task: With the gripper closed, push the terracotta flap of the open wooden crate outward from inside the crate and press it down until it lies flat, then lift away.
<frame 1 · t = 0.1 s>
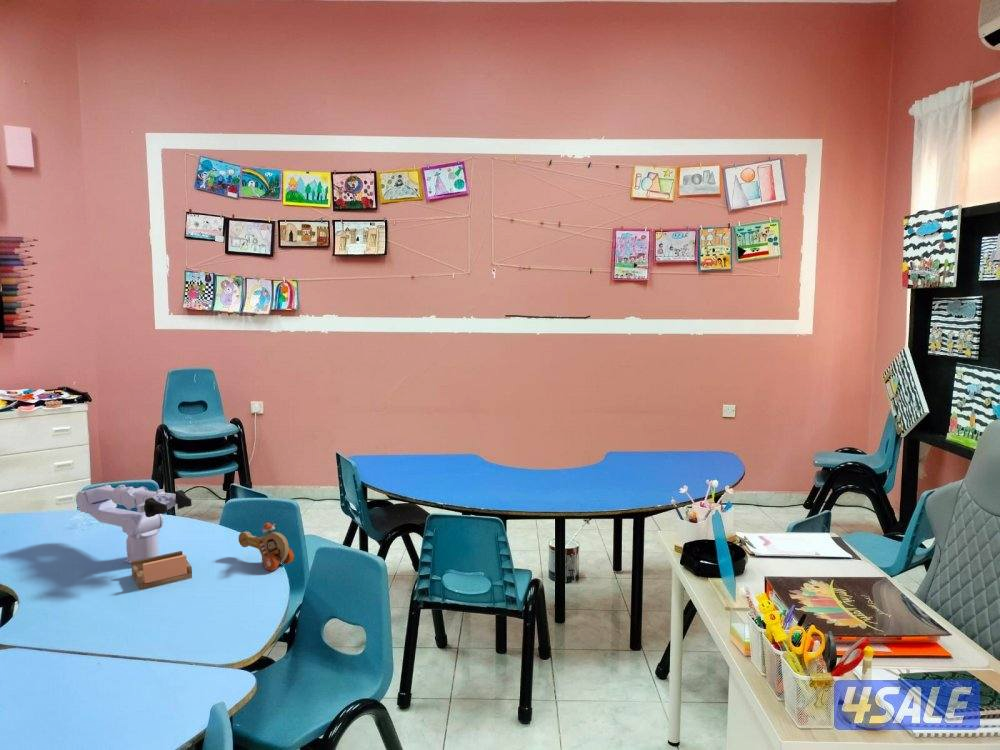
hand: (178, 505, 204), 22 cm above the table, tool horizontal, fingers open, 7 cm apart
tailgate: (165, 568, 201), point 4 cm above the table, hinge at 0.0°
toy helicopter: (265, 563, 217), on the table
open wooden crate: (162, 576, 206), on the table
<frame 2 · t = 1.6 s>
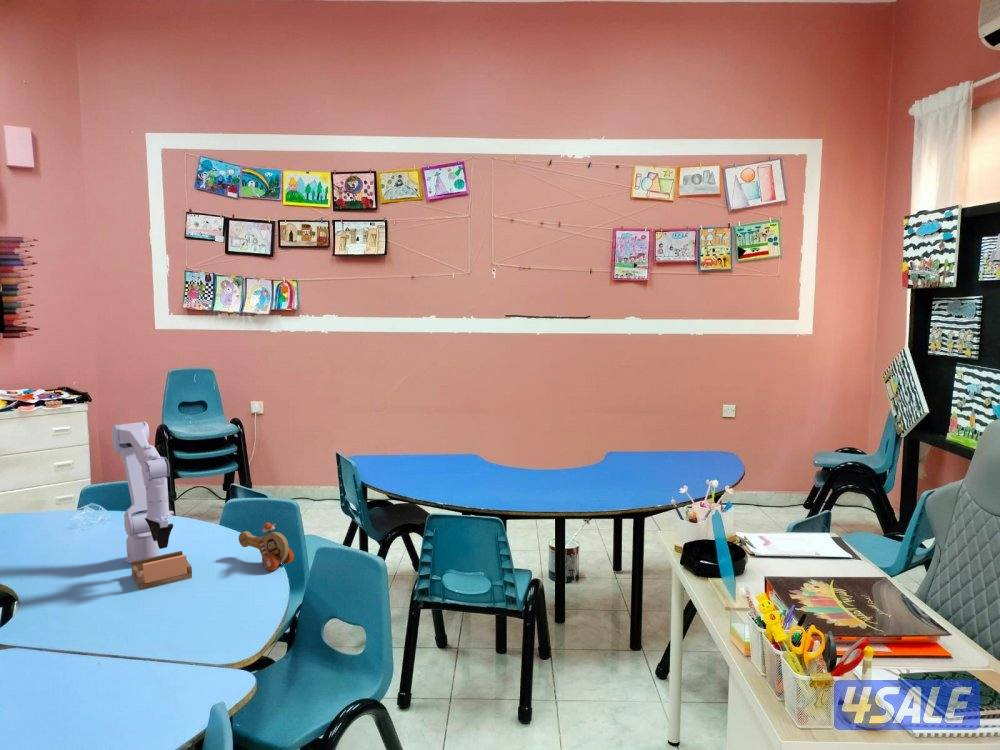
hand: (160, 544, 204), 10 cm above the table, tool pointing down, fingers open, 7 cm apart
nothing on the table moved.
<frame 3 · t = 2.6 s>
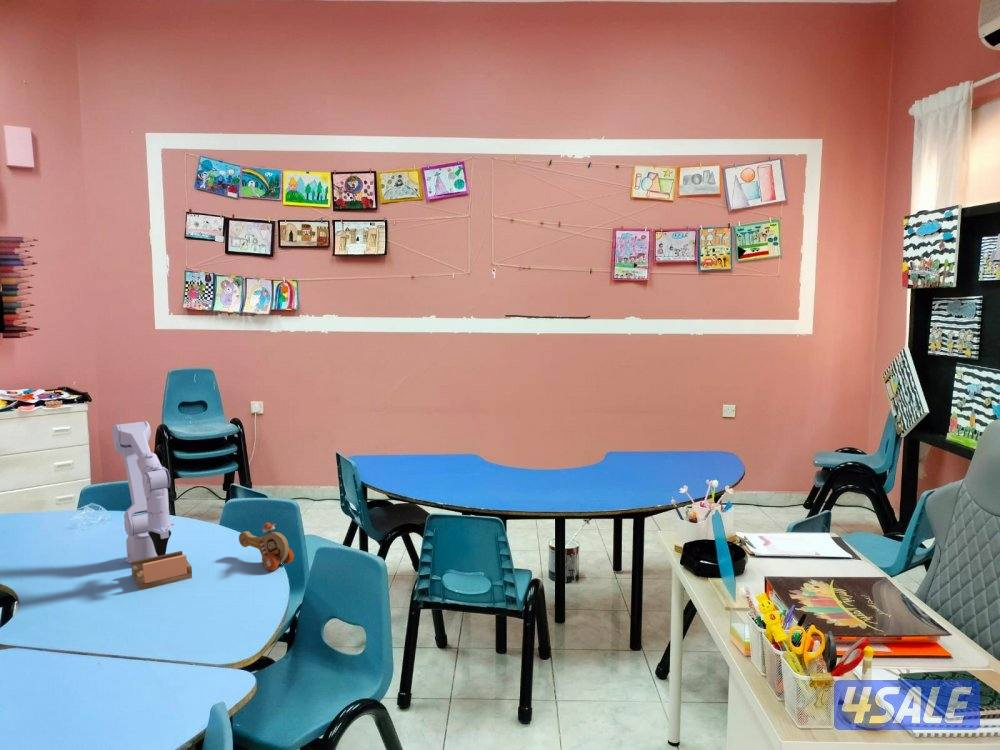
hand: (161, 554, 204), 7 cm above the table, tool pointing down, fingers closed
nothing on the table moved.
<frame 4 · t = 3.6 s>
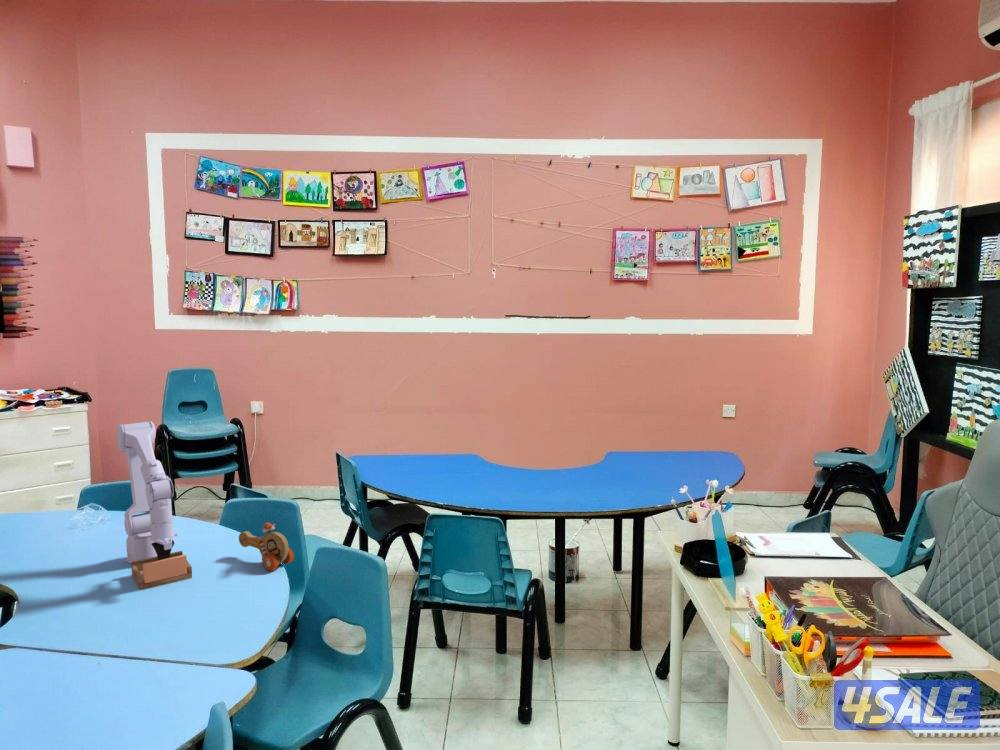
hand: (164, 565, 202), 5 cm above the table, tool pointing down, fingers closed, pressing on tailgate
tailgate: (165, 568, 201), point 4 cm above the table, hinge at 0.4°, touching gripper
everything else where it was.
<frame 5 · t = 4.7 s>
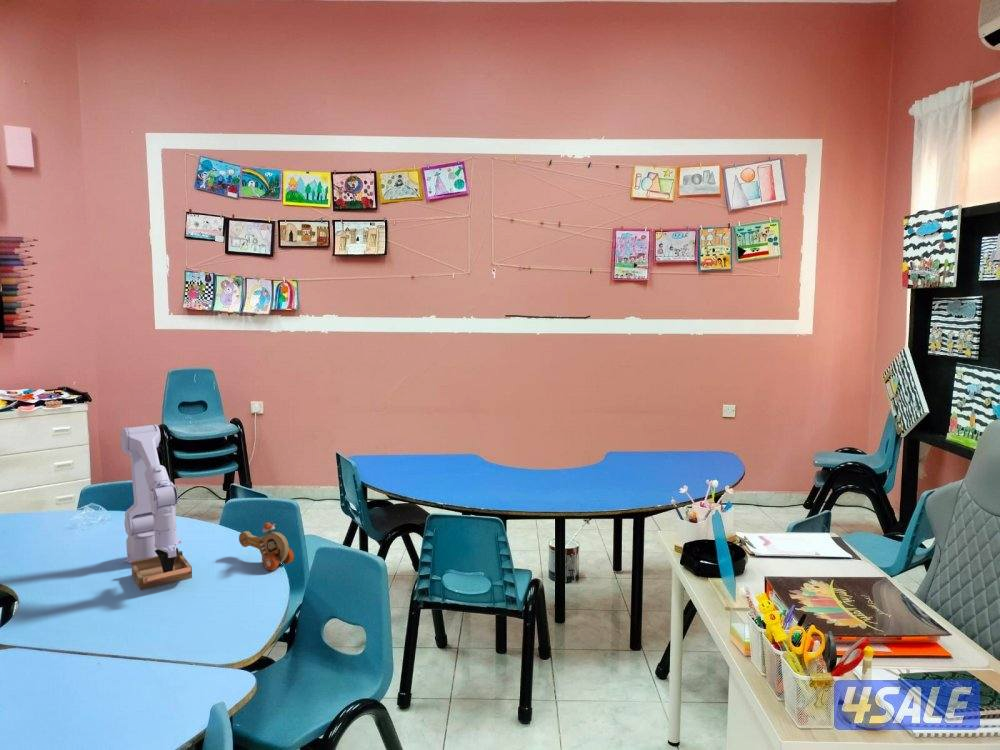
hand: (168, 573, 198), 4 cm above the table, tool pointing down, fingers closed, pressing on tailgate
tailgate: (167, 575, 199), point 3 cm above the table, hinge at 62.7°, touching gripper
everything else where it was.
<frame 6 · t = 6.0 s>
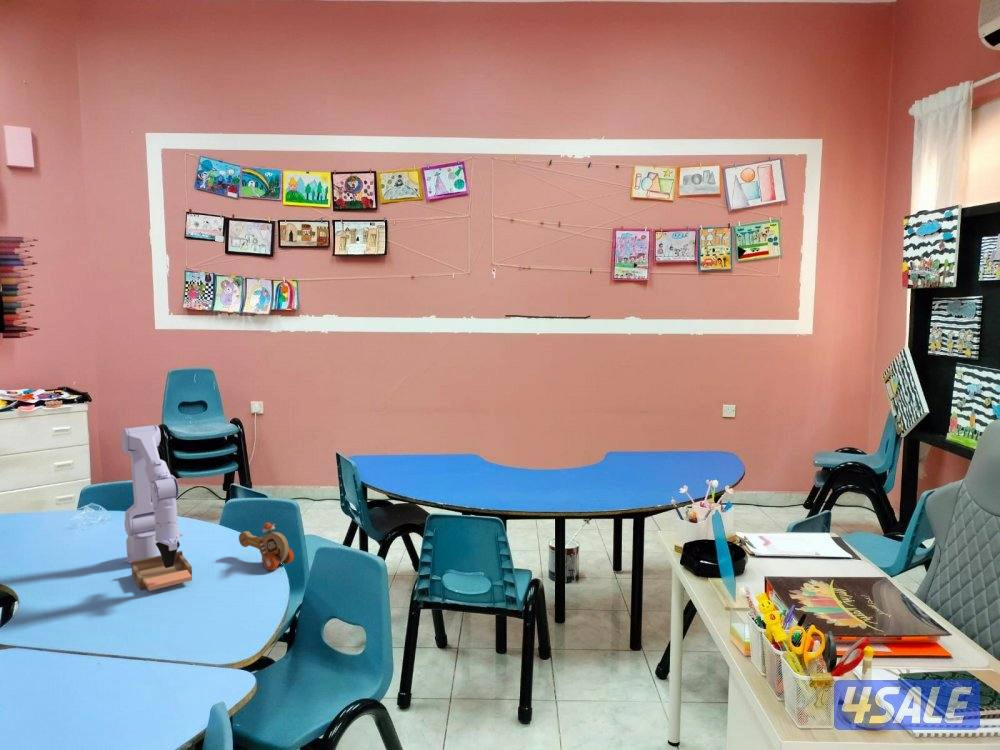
hand: (168, 566, 196), 7 cm above the table, tool pointing down, fingers closed
tailgate: (168, 579, 199), point 2 cm above the table, hinge at 91.2°
everything else where it was.
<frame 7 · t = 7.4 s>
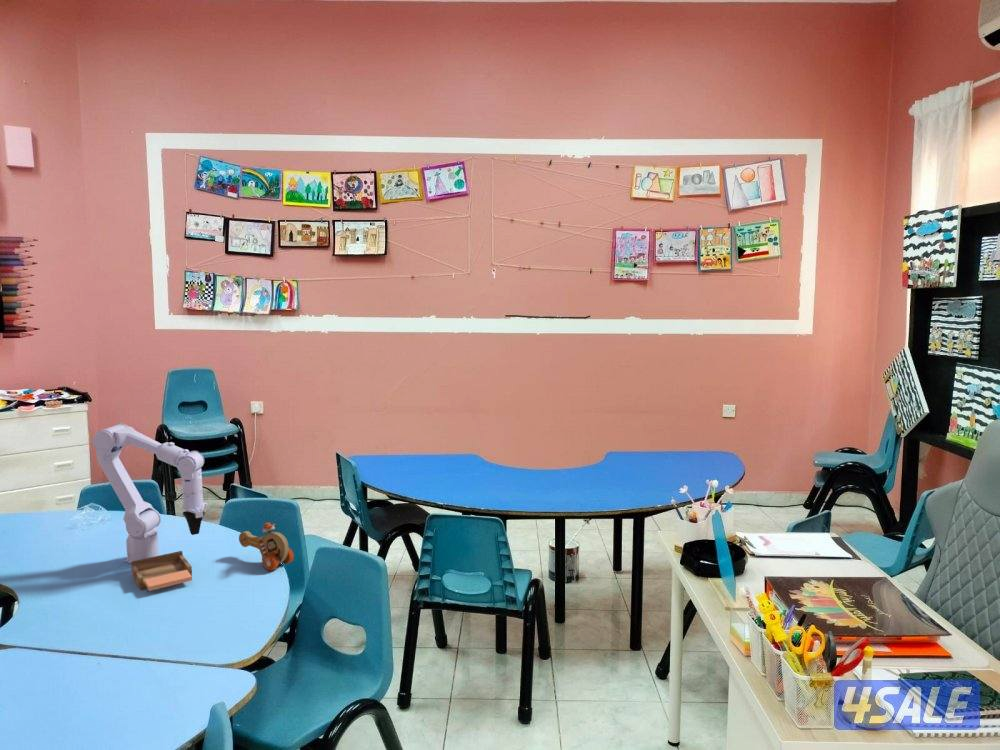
hand: (194, 533, 215), 9 cm above the table, tool pointing down, fingers closed
tailgate: (168, 580, 199), point 2 cm above the table, hinge at 91.7°
everything else where it was.
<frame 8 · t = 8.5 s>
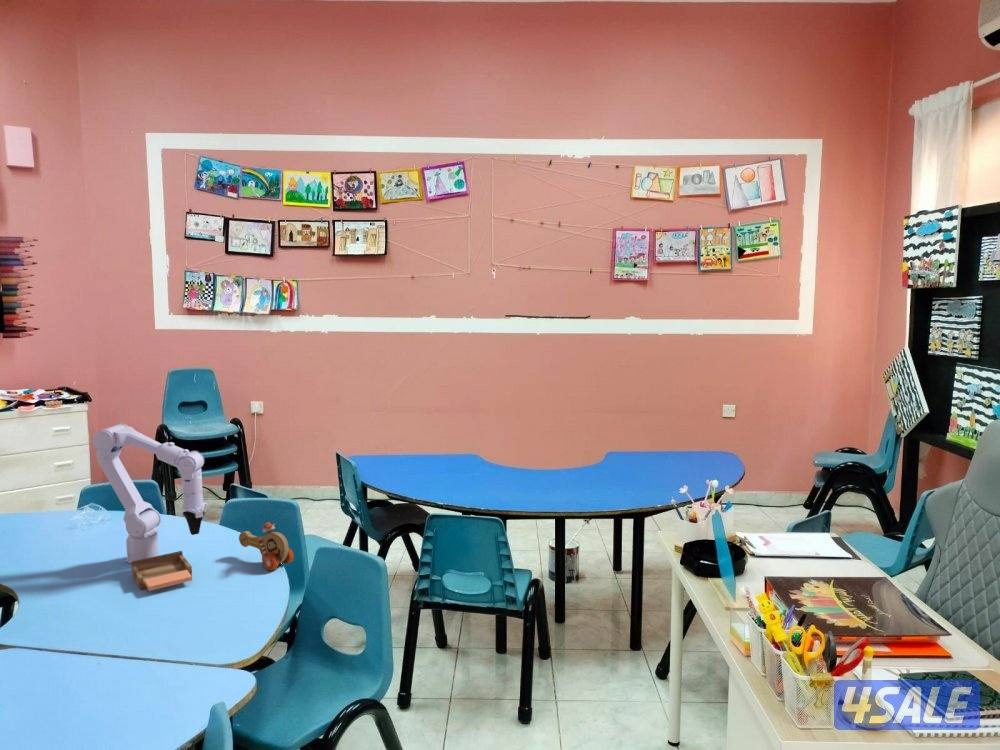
hand: (194, 533, 215), 9 cm above the table, tool pointing down, fingers closed
nothing on the table moved.
at the end: tailgate at +92° (first picture: +0°); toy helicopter moved 0.3 cm from its start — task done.
